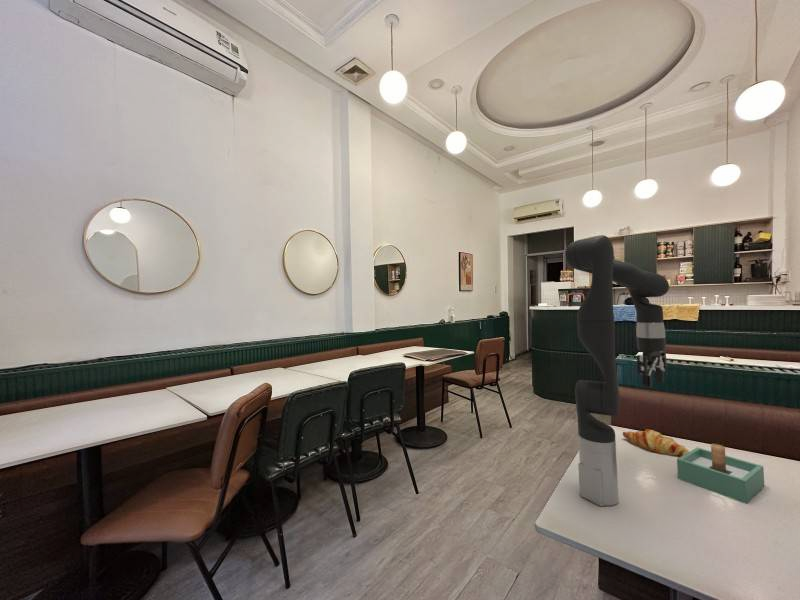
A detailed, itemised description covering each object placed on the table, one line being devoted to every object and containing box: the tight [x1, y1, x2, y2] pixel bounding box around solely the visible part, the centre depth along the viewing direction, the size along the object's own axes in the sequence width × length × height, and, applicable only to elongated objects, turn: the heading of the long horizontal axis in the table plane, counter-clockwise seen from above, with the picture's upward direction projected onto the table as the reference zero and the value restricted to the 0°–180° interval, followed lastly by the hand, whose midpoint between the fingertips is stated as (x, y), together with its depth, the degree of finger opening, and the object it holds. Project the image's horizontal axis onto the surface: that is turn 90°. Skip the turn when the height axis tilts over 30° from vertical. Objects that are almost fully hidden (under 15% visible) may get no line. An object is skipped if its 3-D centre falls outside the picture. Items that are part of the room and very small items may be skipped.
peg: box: [710, 443, 726, 473], centre depth 97 cm, size 3×3×10 cm
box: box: [676, 447, 766, 504], centre depth 97 cm, size 15×15×6 cm
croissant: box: [622, 428, 690, 457], centre depth 120 cm, size 21×10×8 cm, turn 35°
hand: (653, 384), depth 105 cm, fingers open, 8 cm apart
